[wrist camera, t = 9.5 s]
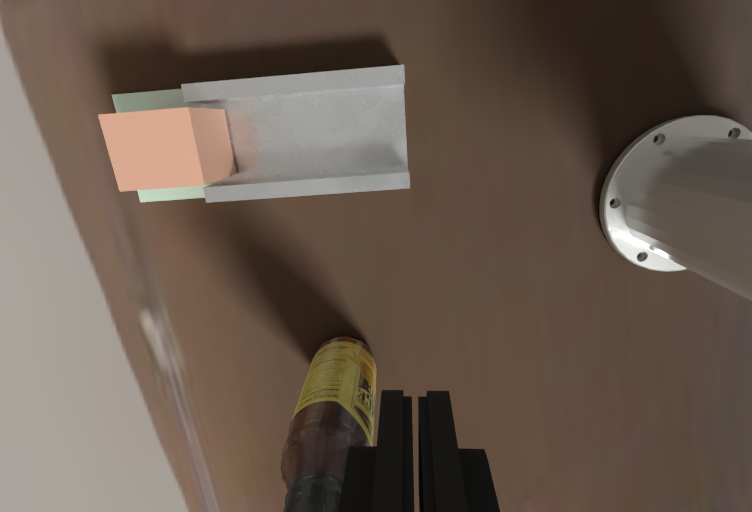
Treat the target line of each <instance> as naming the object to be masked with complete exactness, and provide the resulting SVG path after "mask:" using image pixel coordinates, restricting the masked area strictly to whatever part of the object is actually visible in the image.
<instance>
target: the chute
mask: <svg viewBox="0 0 752 512" xmlns="http://www.w3.org/2000/svg"><path fill="white" fill-rule="evenodd" d="M404 84H405V74H404V65H394V66H383V67H371V68H360V69H348V70H337V71H326V72H314V73H303V74H292V75H280V76H269V77H258V78H246V79H235V80H223V81H212V82H201V83H189V84H181V88H182V93H183V97H184V102H189V103H200V104H201V108H208V109H224V110H225V115H226V120H227V126H228V131H229V137H230V142H231V147H232V153H233V158H234V163H235V169H236V174H235V175H232V176H230V177H227V178H224V179H221V180H218V181H216V182H217V183H214V184H211V185H208V186H206V187H203V190H204V195H205V199H206V203H209V202H223V201H237V200H251V199H265V198H279V197H293V196H307V195H321V194H335V193H349V192H363V191H377V190H391V189H405V188H410V176H409V170H408V164H407V144H406V124H405V104H404Z"/></svg>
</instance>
